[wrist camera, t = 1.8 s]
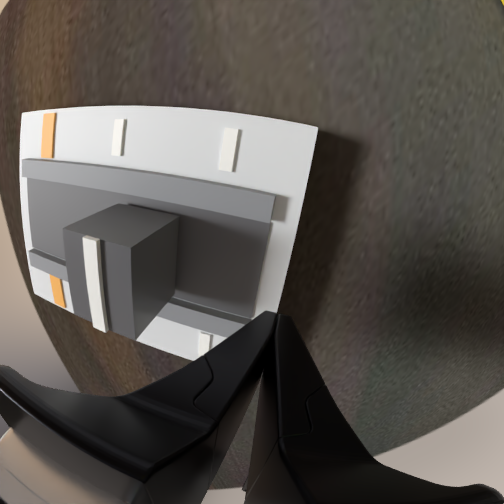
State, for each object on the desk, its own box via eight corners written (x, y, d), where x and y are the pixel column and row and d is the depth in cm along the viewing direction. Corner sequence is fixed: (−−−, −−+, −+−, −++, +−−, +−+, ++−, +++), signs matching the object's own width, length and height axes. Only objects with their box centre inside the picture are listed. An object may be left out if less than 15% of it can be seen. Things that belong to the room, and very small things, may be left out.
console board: (265, 354, 16) (257, 386, 14) (52, 281, 18) (29, 296, 16) (317, 129, 11) (318, 126, 9) (45, 111, 13) (16, 113, 11)
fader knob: (174, 293, 13) (132, 344, 9) (119, 276, 13) (71, 316, 10) (179, 216, 11) (127, 250, 8) (118, 203, 12) (58, 230, 8)
